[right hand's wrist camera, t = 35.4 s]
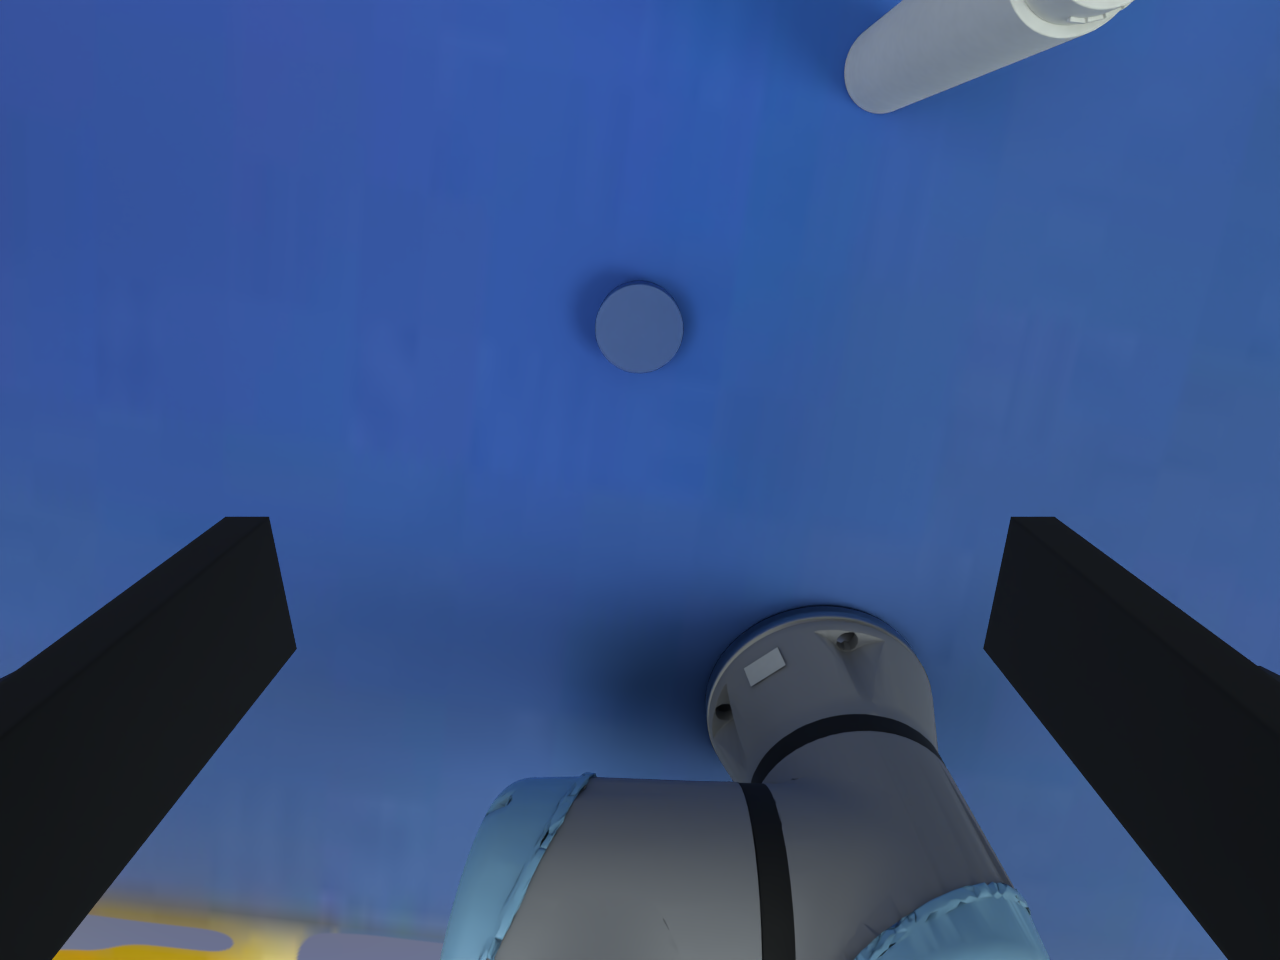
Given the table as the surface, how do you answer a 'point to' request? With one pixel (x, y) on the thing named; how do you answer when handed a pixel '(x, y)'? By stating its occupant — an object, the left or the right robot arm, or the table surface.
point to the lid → (639, 327)
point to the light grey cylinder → (958, 44)
